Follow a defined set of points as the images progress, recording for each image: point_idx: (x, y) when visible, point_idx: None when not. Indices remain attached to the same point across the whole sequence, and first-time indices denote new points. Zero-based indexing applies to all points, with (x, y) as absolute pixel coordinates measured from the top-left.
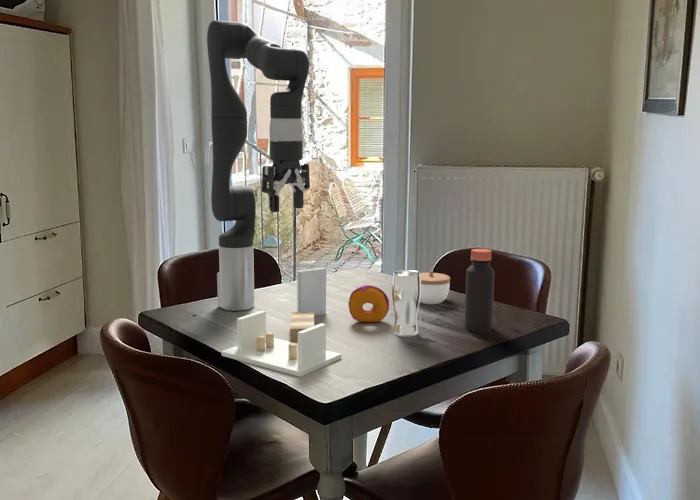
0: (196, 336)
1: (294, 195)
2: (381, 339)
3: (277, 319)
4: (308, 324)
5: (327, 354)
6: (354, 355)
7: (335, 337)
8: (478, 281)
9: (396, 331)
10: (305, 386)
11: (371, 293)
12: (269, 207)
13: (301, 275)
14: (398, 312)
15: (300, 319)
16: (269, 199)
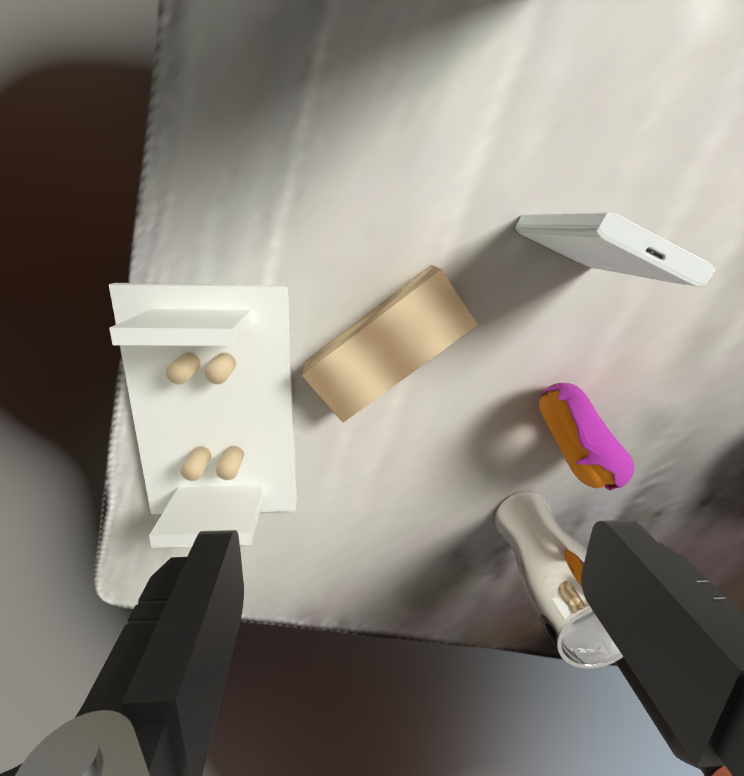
0: (172, 71)
1: (699, 634)
2: (455, 499)
3: (471, 174)
4: (362, 389)
5: (273, 492)
6: (329, 513)
7: (412, 415)
8: (657, 724)
9: (501, 514)
10: (127, 540)
11: (582, 476)
12: (152, 578)
13: (592, 238)
14: (517, 550)
15: (390, 342)
16: (106, 670)
